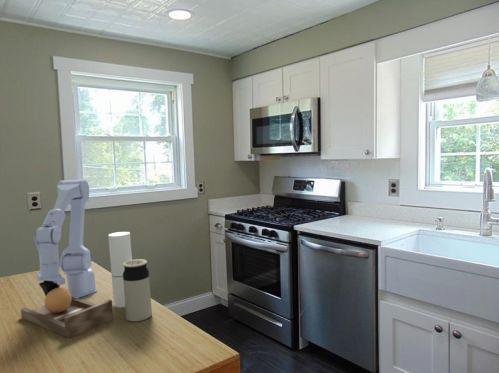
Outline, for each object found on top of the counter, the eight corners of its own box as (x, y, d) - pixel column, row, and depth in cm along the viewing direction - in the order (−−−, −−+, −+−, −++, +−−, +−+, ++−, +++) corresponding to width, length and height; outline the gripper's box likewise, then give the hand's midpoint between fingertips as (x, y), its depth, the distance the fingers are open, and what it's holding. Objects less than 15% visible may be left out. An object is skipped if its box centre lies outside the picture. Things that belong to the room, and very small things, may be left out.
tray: (65, 302, 138) (63, 286, 138) (113, 318, 122) (111, 300, 122) (21, 317, 126) (19, 300, 126) (68, 338, 110) (66, 318, 109)
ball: (62, 299, 132) (63, 280, 129) (75, 311, 128) (77, 291, 126) (39, 308, 126) (40, 288, 123) (52, 321, 122) (53, 301, 119)
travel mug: (138, 324, 117) (133, 267, 115) (120, 319, 121) (116, 264, 120) (157, 314, 124) (153, 260, 122) (140, 310, 128) (136, 257, 126)
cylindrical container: (139, 300, 136) (134, 232, 134) (125, 308, 130) (119, 236, 128) (124, 298, 139) (118, 231, 137) (109, 305, 133) (103, 235, 131)
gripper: (26, 262, 127) (29, 302, 128) (48, 268, 119) (51, 310, 120) (47, 257, 133) (50, 295, 134) (70, 263, 125) (72, 303, 126)
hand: (52, 302), depth 127 cm, fingers closed, pressing on ball
